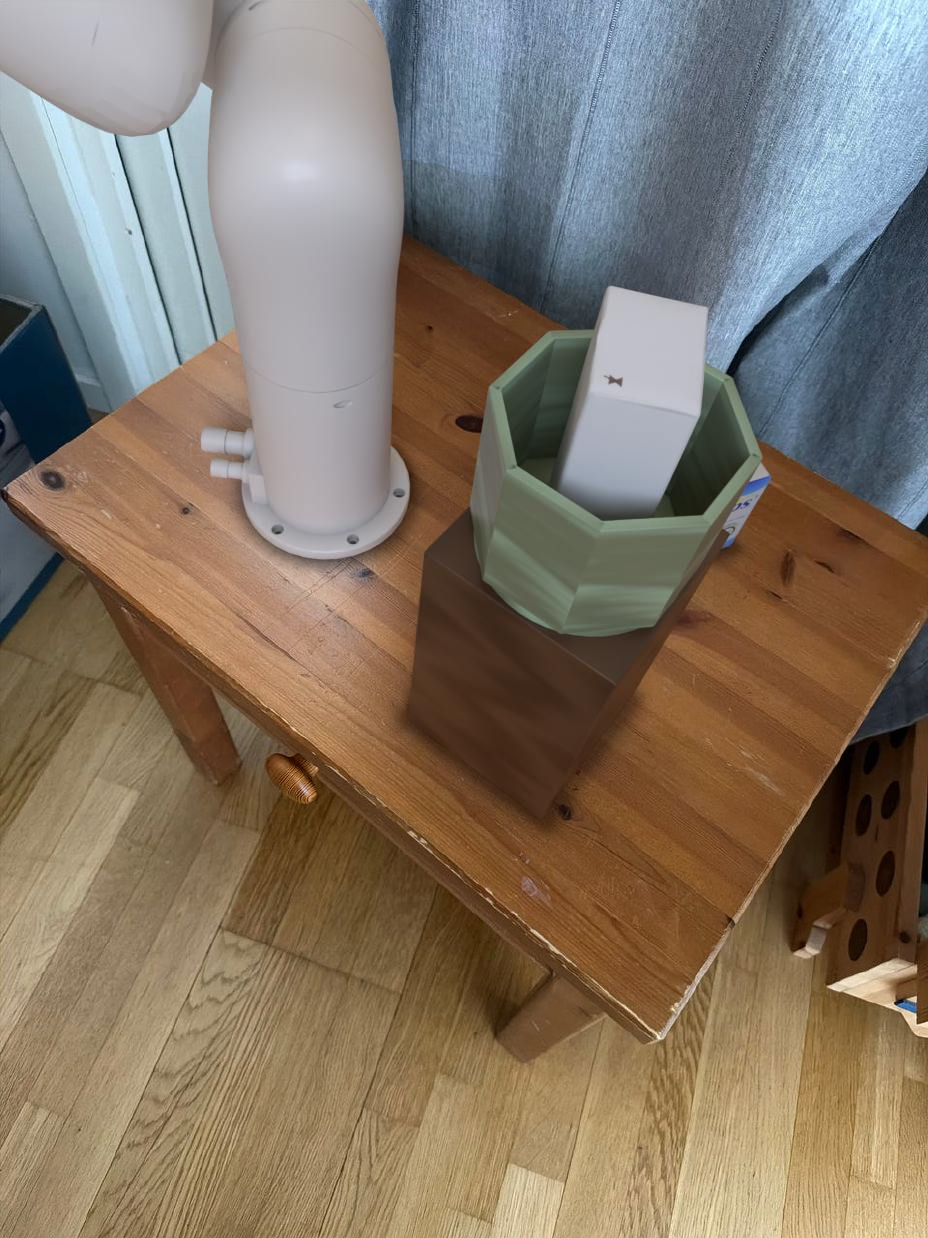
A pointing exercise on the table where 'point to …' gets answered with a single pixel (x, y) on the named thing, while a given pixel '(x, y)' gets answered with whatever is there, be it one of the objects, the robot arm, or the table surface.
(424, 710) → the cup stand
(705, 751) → the table surface
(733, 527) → the medicine box
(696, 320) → the cosmetic box
